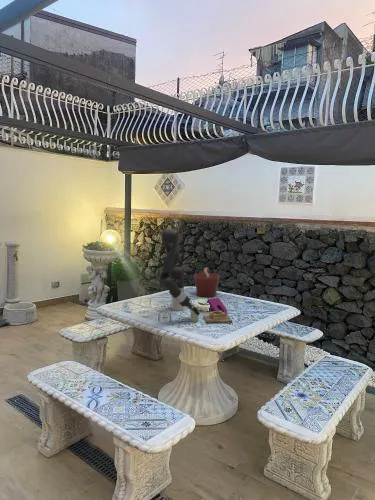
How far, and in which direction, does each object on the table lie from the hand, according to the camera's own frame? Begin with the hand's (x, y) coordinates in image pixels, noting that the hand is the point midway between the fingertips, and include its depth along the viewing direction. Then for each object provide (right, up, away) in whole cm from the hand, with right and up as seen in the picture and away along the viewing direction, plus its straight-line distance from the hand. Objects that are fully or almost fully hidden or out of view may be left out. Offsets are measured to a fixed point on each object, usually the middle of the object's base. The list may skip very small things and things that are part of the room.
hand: (196, 313), depth 261 cm
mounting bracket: (+16, -3, +19) cm, 25 cm away
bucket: (+10, +3, +73) cm, 73 cm away
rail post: (-2, -5, 0) cm, 5 cm away
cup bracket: (+14, -5, 0) cm, 15 cm away
